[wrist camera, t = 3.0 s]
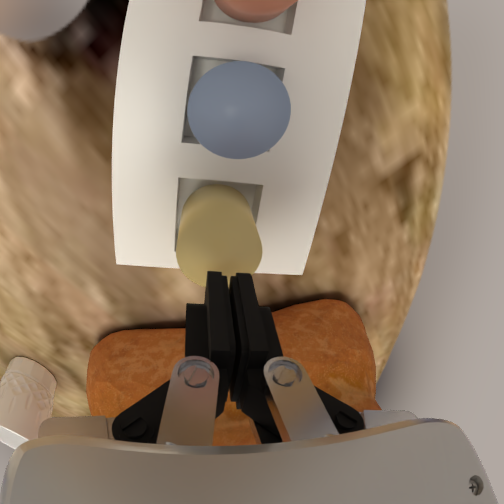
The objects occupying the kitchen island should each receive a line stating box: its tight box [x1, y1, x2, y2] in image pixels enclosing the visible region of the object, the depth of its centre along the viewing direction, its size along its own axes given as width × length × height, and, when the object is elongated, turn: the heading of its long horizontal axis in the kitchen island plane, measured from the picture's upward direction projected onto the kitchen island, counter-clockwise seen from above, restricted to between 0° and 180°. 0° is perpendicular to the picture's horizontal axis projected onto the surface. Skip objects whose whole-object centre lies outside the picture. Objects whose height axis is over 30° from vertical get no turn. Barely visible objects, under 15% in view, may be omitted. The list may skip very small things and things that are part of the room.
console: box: [112, 0, 366, 275], centre depth 15 cm, size 20×12×4 cm, turn 171°
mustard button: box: [176, 184, 263, 288], centre depth 16 cm, size 4×4×4 cm
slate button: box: [187, 61, 291, 159], centre depth 13 cm, size 4×4×4 cm
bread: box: [86, 299, 382, 446], centre depth 23 cm, size 16×26×17 cm, turn 97°
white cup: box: [0, 357, 57, 449], centre depth 24 cm, size 8×8×10 cm
